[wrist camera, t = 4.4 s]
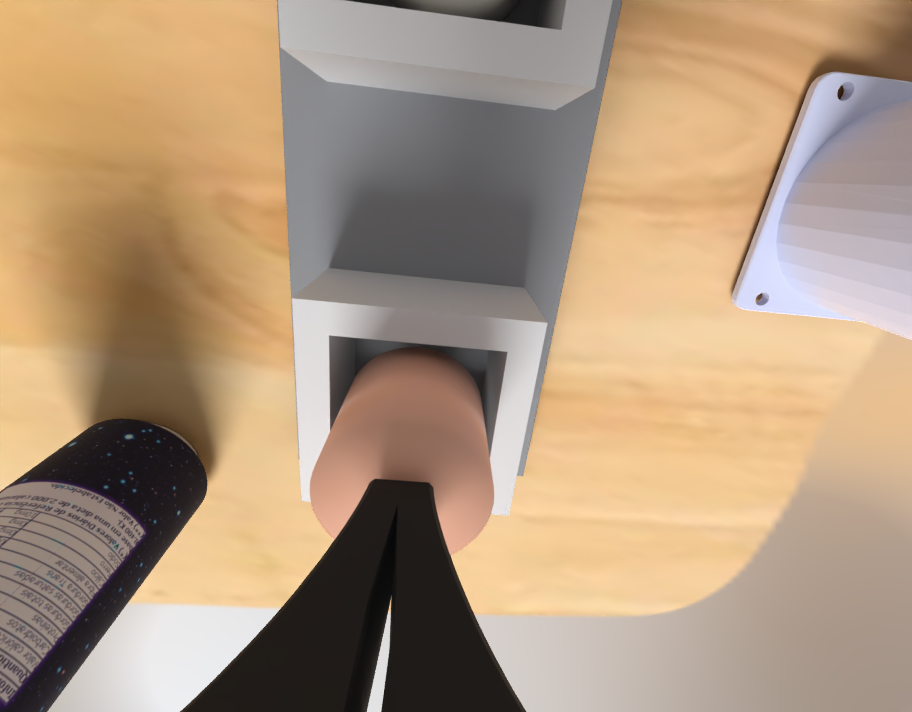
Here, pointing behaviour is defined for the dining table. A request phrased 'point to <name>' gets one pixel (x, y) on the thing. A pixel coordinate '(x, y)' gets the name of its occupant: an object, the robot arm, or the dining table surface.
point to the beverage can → (85, 547)
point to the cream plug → (462, 7)
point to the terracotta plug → (409, 442)
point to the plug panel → (435, 196)
